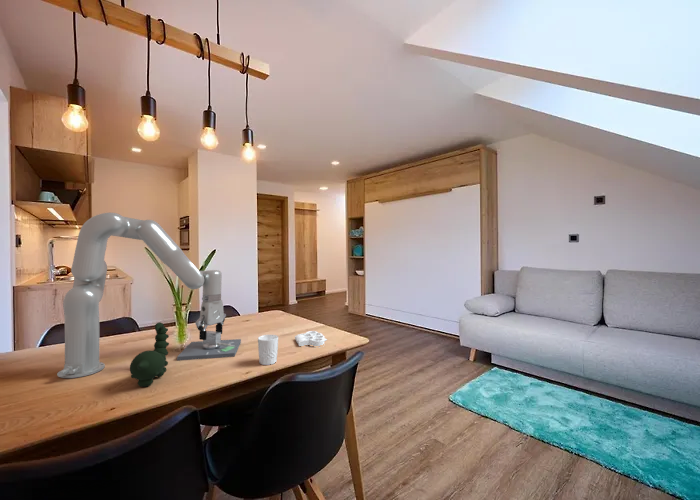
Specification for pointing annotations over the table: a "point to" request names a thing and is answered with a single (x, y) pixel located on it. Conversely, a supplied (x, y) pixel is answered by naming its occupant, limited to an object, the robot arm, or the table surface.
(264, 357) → the white cup
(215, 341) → the gray cube on spoon
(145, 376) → the toy figurine
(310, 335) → the white brass knuckles
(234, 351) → the dial plate
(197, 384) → the table surface
